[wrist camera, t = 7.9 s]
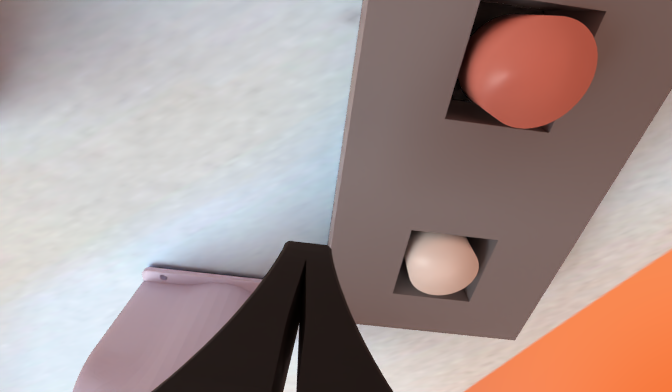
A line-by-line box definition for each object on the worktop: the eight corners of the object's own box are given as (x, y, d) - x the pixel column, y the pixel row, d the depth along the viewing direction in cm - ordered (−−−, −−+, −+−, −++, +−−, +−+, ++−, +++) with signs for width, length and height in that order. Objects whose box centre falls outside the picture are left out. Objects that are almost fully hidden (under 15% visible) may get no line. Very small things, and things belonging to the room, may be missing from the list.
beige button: (394, 255, 21) (401, 291, 18) (408, 207, 19) (418, 239, 16) (450, 261, 21) (465, 298, 18) (469, 214, 19) (489, 247, 16)
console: (323, 272, 23) (320, 320, 20) (377, -100, 13) (389, -140, 10) (489, 291, 23) (514, 340, 20) (663, -54, 14) (773, -75, 10)
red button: (447, 101, 14) (469, 121, 12) (474, 7, 13) (508, 7, 10) (525, 111, 15) (565, 134, 12) (564, 20, 13) (620, 24, 10)
